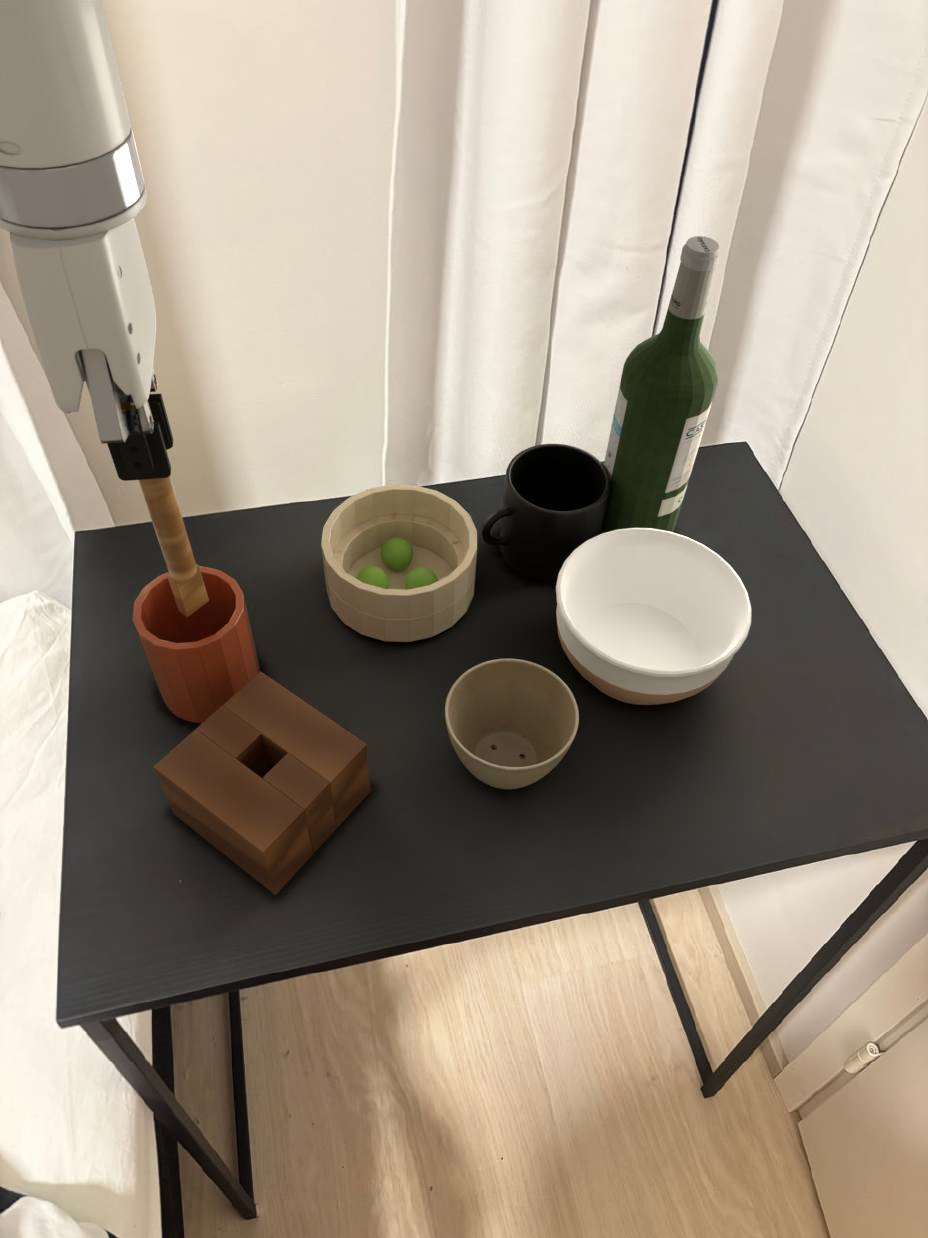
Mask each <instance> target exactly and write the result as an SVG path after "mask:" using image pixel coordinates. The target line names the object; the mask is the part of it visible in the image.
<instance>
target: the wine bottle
mask: <svg viewBox="0 0 928 1238" xmlns="http://www.w3.org/2000/svg"><path fill="white" fill-rule="evenodd" d="M720 256H721V252H720V244H719V243H718V242H717V241H716V240H715V239H713V238H712V237H707V236H702V235H700V236H699V235H697V236H696V235H695V236H691V237H690V238H687V240H686V242H685V244H684V245H683V246H682V249H681V253H680V259H679V261H680V263H679V266H678V270H677V274H676V277H675V280H674V284H673V288H672V292H671V296H670V299H669V303H668V306H667V310H666V313H665V318H664V321H663V324H662V329H661V330H660V331H659V332H658V333H657V334H653V335H652V336H650V337H648V338H647V339H645V340H643V341H641V342H640V343H638V344H637V345H636V346H635V347H634V348H633V349H632V350H631V351H630V353H629V354H628V356H627V357H626V358H625V360H624V361H625V362H624V364H623V367H622V372H621V377H620V382H619V387H618V391H617V397H616V402H615V405H614V410H613V411H614V412H613V415H612V416H613V417H612V421H611V426H610V432H609V436H608V441H607V447H606V452H605V456H604V460H603V465H604V466H605V468H606V469H607V471H608V474H609V476H610V492H609V496H608V501H607V506H606V510H605V515H604V520H603V524H602V529H601V534H602V533H606V532H610V531H614V530H617V529H627V528H653V529H658V530H664V531H670V532H673V533H675V527H676V525H677V522H678V518H679V515H680V511H681V508H682V505H683V502H684V498H685V495H686V492H687V488H688V486H689V485H688V484H689V481H690V479H691V474H692V472H693V468H694V465H695V461H696V457H697V455H698V451H699V448H700V445H701V441H702V438H703V434H704V432H705V429H706V424H707V421H708V418H709V415H710V411H711V408H712V405H713V401H714V399H715V395H716V391H717V388H718V382H719V371H718V366H717V364H716V360H715V358H714V357H713V355H712V354H711V352H710V351H709V349H708V348H707V347H706V346H705V345H704V344H703V343H702V342H701V336H700V335H701V332H702V327H703V324H704V319H705V318H704V317H705V313H706V309H707V305H708V300H709V296H710V292H711V287H712V283H713V278H714V273H715V270H716V268H717V266H718V263H719V259H720Z"/></svg>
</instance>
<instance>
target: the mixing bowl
mask: <svg viewBox="0 0 928 1238" xmlns="http://www.w3.org/2000/svg"><path fill="white" fill-rule="evenodd" d="M394 537H400V538H403V539H405V540H407V541H408V542H409V543H410V545H411V546H412V549H413V558H412V561H411V563H410V564H409V565H408V566H407V567H405V568H403V569H400V570H394V569H391V568H389V567H387V566H386V565H385V564H384V563H383V561H382V559H381V548H382V546H383V544H384V543H385V542H386V541H387V540H389V539H390V538H394ZM320 546H321V547H320V548H321V554H322V555H321V556H322V564H323V572H324V581H325V589H326V594H327V597H328V600H329V601H328V602H329V605H330V608H331V609H332V610H333V611H334V613H335V614H336V616H337V617H338V618H339V619H340V620H341V622H342V623H343V624H344V625H346V626H347V627H349V628H351V629H352V630H354V631H355V632H357V633H359V634H360V635H362V636H364V637H369V638H372V639H376V640H378V641H383V642H396V643H412V642H415V641H420V640H425V639H429V638H432V637H435V636H438V635H439V634H441V633H442V632H444V631H446V630H448V629H450V628H452V627H453V626H454V625H455V624H456V623H458V621H459V620H460V619H461V618H462V617H463V616H464V615H465V614H466V613H467V612H468V610H469V607H470V605H471V603H472V601H473V598H474V597H475V584H476V569H477V558H478V557H477V555H478V529H477V528H476V526H475V523H474V521H473V519H472V516H471V515H470V514H469V512H468V511H466V509H464V508H463V507H462V505H461V504H459V502H457V501H456V500H454V499H453V498H451V497H449V496H448V495H446V494H444V493H442V492H440V491H437V490H435V489H431V488H428V487H422V486H420V485H414V484H388V485H382V486H376V487H371V488H367V489H365V490H363V491H361V492H359V493H355V494H354V495H351V496H349V497H348V498H347V499H345V500H344V501H342V502H341V503H340V504H339V505H338V506H337V507H335V508H334V510H333V511H331V514H330V515H329V517H328V518H327V520H326V522H325V524H324V525H323V529H322V535H321V541H320ZM369 566H375V567H378V568H380V569H382V570H383V571H384V572H385V573H386V575H387V577H388V582H389V584H388V589H383V588H380V587H376V586H373V585H369V584H365V583H363V582H361V581H359V580H358V579H356V576H357V574H358V573H359V571H360V570H362V569H363V568H365V567H369ZM420 567H423V568H427V569H430V570H431V571H433V572H434V573H435V575H436V577H437V579H438V581H437V582H435V583H433V584H431V585H428V586H423V587H418V588H414V589H409V590H406V588H405V580H406V577H407V575H408V574H409V573H410V572H411V571H412V570H414V569H416V568H420Z"/></svg>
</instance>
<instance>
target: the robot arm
mask: <svg viewBox="0 0 928 1238" xmlns="http://www.w3.org/2000/svg"><path fill="white" fill-rule="evenodd" d="M121 81H122V80H121V76H120V72H119V68H118V64H117V59H116V56H115V51H114V47H113V42H112V38H111V33H110V30H109V25H108V21H107V18H106V12H105V7H104V4H103V0H0V228H1V229H3V230H5V231H6V232H8V233H9V241H10V247H11V252H12V257H13V263H14V267H15V271H16V277H17V280H18V285H19V288H20V293H21V296H22V299H23V303H24V306H25V309H26V314H27V317H28V321H29V324H30V328H31V330H32V334H33V337H34V340H35V344H36V347H37V349H38V353H39V356H40V360H41V362H42V367H43V370H44V372H45V376H46V379H47V382H48V384H49V387H50V391H51V395H52V396H53V397H52V398H53V399H54V402H55V404H56V406H57V407H58V409H59V410H60V411H61V412H63V413H64V414H71V413H78V412H80V411H79V410H80V405H81V399H82V394H83V388H84V383H85V384H86V387H87V390H88V394H89V397H90V400H91V405H92V410H93V414H94V418H95V423H96V429H97V432H98V433H97V434H98V437H99V441H100V443H101V444H102V445H103V444H106V445H107V448H108V450H109V453H110V456H111V459H112V463H113V465H114V468H115V472H116V474H117V477H118V479H120V480H121V481H123V482H128V481H138V480H144V479H158V478H168V477H169V476H170V477H171V475H172V465H171V462H170V458H169V455H168V450H170V449H172V448H173V447H174V436H173V433H172V429H171V424H170V421H169V417H168V413H167V409H166V406H165V402H164V399H163V394H162V393H157V392H158V387H159V386H158V378H157V375H156V371H155V367H154V361H155V353H156V351H155V350H156V341H157V340H156V339H157V322H158V321H157V310H156V303H155V297H154V291H153V287H152V283H151V278H150V274H149V270H148V269H149V268H148V266H147V262H146V258H145V254H144V250H143V246H142V243H141V238H140V235H139V231H138V227H137V223H136V221H135V217H137V216H138V215H139V213H140V212H142V210H143V209H144V207H146V204H147V201H148V193H147V192H148V191H147V189H146V187H147V186H146V184H145V179H144V175H143V170H142V166H141V162H140V157H139V153H138V150H137V145H136V140H135V137H134V132H133V127H132V124H131V119H130V114H129V111H128V106H127V102H126V97H125V93H124V89H123V84H122V82H121ZM147 400H148V402H149V405H148V402H147ZM126 402H130V404H131V405H134V406H135V409H136V411H134V410H133V409H130V410H122V409H121V404H120V403H126ZM149 406H150V409H151V412H152V416H153V419H154V422H153V420H152V416H151V413H150V409H149Z"/></svg>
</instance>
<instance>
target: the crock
mask: <svg viewBox="0 0 928 1238" xmlns="http://www.w3.org/2000/svg"><path fill="white" fill-rule="evenodd" d="M199 567H200V571H201V574H202V578H203V581H204V584H205V588H206V591H207V595H208V598H209V601H208V602H207V603H206V604H204V605H203V606H202V607H200V608H199V609H198V610H196V611H195V612H194V613H192V614H191V615H190V616H188V617H186V616H185V615H183V614H182V613H181V612H179V610H178V607H177V604H176V601H175V598H174V595H173V592H172V589H171V586H170V583H169V580H168V577H167V576H168V575H169V572H166V573H163V574H160V575H158V576H157V577H156V578H155V579H153V580H152V581H150V582H149V583H148V584H146V585H145V586H144V587H143V588H142V590H141V591H140V593H139V594H138V596H137V597H136V599H135V600H134V602H133V610H132V622H133V625H134V628H135V631H136V633H137V637H138V638H139V641H140V645H141V646H142V649H143V651H144V654H145V657H146V660H147V663H148V665H149V668H150V671H151V673H152V676H153V679H154V682H155V684H156V686H157V689H158V691H159V693H160V695H161V698H162V701H163V703H164V705H165V706H166V708H167V709H168V710H169V711H170V712H171V713H172V714H173V715H175V716H176V717H177V718H179V719H181V720H183V721H187V722H190V723H195V724H202V723H203V722H204V721H205V720H207V719H208V718H209V717H210V716H211V715H212V714H213V713H214V712H216V711H217V710H218V709H219V708H220V707H221V706H223V705H224V704H225V703H226V702H227V701H228V700H229V699H230V698H231V697H233V696H234V695H235V694H236V693H237V692H238V691H239V690H240V689H242V688H243V687H244V686H245V685H246V684H247V683H248V682H249V681H251V680H252V679H253V678H254V677H255V676H256V675H257V674H258V673H259V672H261V670H260V663H259V657H258V653H257V649H256V644H255V640H254V635H253V630H252V626H251V623H250V622H251V621H250V618H249V617H250V616H249V613H248V608H247V603H246V599H245V594H244V592H243V590H242V588H241V587H240V585H239V583H238V582H237V580H236V579H234V578H233V577H231V576H229V575H228V574H227V573H226V572H223V570H220V569H216V568H211V567H208V566H207V567H206V566H203V565H202V566H200V565H199Z"/></svg>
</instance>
